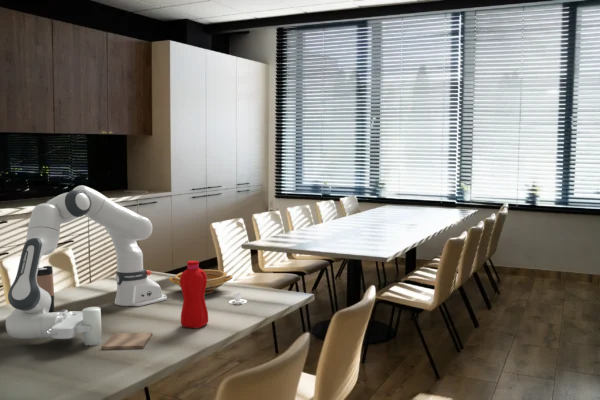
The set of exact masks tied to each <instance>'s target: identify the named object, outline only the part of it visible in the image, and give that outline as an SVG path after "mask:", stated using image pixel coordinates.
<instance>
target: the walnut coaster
mask: <svg viewBox="0 0 600 400" xmlns="http://www.w3.org/2000/svg"><path fill="white" fill-rule="evenodd" d="M152 337H153V332H123V333H122V332H121V333H118V332H117V333H115V332H114V333H113V334H111V336H109V338H108V339H107V340H106V341H105V342H104V343H103V345H101V350H133V349H134V350H135V349H136V350H139V349H141V350H142V349H144V348H145V346H146V345H147V344H148V342H149V341H150V339H151V338H152Z"/></svg>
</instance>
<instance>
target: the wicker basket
mask: <svg viewBox="0 0 600 400" xmlns="http://www.w3.org/2000/svg"><path fill="white" fill-rule="evenodd" d="M202 270H203V271H204V272H205V274H206V276H207V284H206V288H205V293H204V295H208V294H211V293H213V292H214V290H215V289H218V288H220V287H221V286H223V285H224V284H225V283H228V282H229V281H231V280H232V279H233V275H228V274H227V272H225V271H222V270H216V269H202ZM181 274H182V272H179V273H177V274H175V275H174V276H171V277H169V278H168V279H169V282H171V283H173V284H175V285H177V286H178V287H179V288H181V286H180V277H181Z"/></svg>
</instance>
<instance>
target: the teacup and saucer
mask: <svg viewBox="0 0 600 400" xmlns="http://www.w3.org/2000/svg"><path fill="white" fill-rule="evenodd" d="M247 302H248V300H247V299H243V298H242V292H234V293H233V299H231V300H229V301H228V303H229V304H232V305H243V304H246V303H247Z"/></svg>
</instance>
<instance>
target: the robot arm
mask: <svg viewBox="0 0 600 400" xmlns="http://www.w3.org/2000/svg"><path fill="white" fill-rule="evenodd" d="M31 212H32V213H31V215H30V218H29V221H28V225H27V231H26V238H25V243H24V245H23V248H22V251H21V255H20V259H19V263H18V267H17V273H16V276H15V279H14V281H13V283H12V284H11V285H10V288H9V290H8V292H7V299H8V303H9V304H10V305H11V307H12V308H13V309H14V310H13V311H12V312H11V313H10V314H9V315H8V316H7V317H6V319H5V322H4V323H5V330H6V332H7V334H8V335H9V336H10V337H11V338H14V339H20V340H21V339H25V340H28V339H30V340H31V339H37V338H41V339H58V340H59V339H60V340H67V339H68V340H69V339H72V338H74V337H75V336H76V335H77V334H81V333H83V332H89V331H90V330H91V325H86V326H83V313H82V310H80V311H79V310H77V311H76V310H73V311H68V309H62V310H58V311H54V312H52V313H49V310H50V307H51V302H52V299H51V296H50V294H49V293H48V292H47V291H45V290H44V289H42V288H41V287H39V286H38V284H37V280H36V277H37V272H38V268H40V262H41V259H42V257H43V256H47V255H50V254H52V253H53V252H54V251H55V250H57V248H58V244H59V241H60V240H59V239H60V231H61V225H62V224H66V223H70V222H72V221H73V220H76V219H79V218H82V217H84V216H85V217H87V218H89V219H90V220H91V221H94V222H95V223H97V224H98V225H100V226H102V227H104V228H105V231H106V233H107V234H108V235H109V236H110V238H111V241H112V243H113V247H114V250H115V256H116V257H115V259H116V273H115V281H116V293H115V294H116V295H115V300H114V304H115V305H117V306H122V307H123V306H127V307H129V306H132V307H141V306H146V305H150V304H154V303H159V302H162V301H167V300H168V295H166V294H165V293H162V288H161V286H160V285H159V283H158V282H156V281H155V280H153V279H151V278H150V277H148V276H151V275H152V271H151V270H147V269H145V268H144V254H143V251H142V249H141V248H140V246H139V245H138V242H137V241H144V240H146V239H148V238H149V237H151V235H152V233H153V229H154V228H153V223H152V222H151V220H150V219H149V218H147V217H146V216H143V215H141V214H138V213H137V212H135V211H133V210H131V209H129V208H127V207H125V206H123V205H120V204H118V203H117V202H115V201H113V200H112V199H110V198H109V197H107V196H105V195H104V194H102V193H101V192H99V191H98V190H96V189H94V188H91V187H89V186H86V185H82V184H81V185H78V186H76V187H74V188H73V189H72V190H70V191H69V192H63V193H61V194H59V195H57V196H54V197H53V198H50V199H48V200H46V201H45V202H44V203H39V204H37V205H36V206H34V207H33V209H32V211H31Z"/></svg>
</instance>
